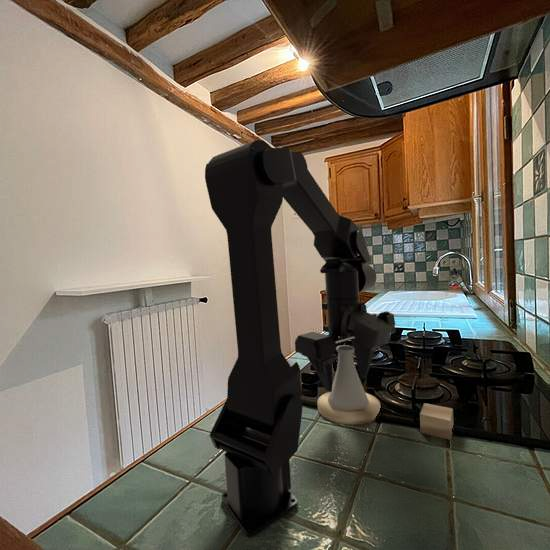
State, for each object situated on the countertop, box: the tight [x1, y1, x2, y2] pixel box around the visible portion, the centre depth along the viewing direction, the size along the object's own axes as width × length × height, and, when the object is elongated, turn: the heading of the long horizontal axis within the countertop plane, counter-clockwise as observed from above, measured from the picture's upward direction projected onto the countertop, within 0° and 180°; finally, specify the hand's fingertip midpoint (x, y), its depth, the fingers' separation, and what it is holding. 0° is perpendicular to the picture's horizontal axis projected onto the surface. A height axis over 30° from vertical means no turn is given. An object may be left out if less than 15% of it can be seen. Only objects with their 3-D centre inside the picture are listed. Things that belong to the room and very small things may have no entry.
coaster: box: [317, 391, 381, 426], centre depth 54 cm, size 11×11×1 cm
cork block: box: [419, 402, 454, 441], centre depth 46 cm, size 4×4×3 cm
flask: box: [328, 344, 369, 411], centre depth 54 cm, size 7×7×10 cm
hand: (347, 383), depth 54 cm, fingers open, 9 cm apart
